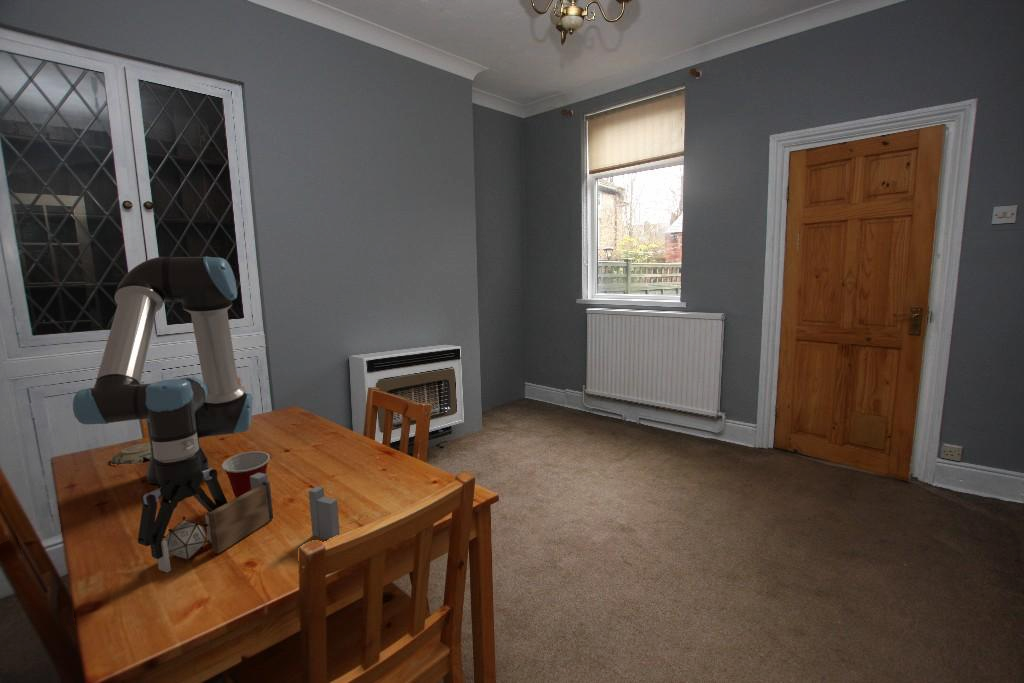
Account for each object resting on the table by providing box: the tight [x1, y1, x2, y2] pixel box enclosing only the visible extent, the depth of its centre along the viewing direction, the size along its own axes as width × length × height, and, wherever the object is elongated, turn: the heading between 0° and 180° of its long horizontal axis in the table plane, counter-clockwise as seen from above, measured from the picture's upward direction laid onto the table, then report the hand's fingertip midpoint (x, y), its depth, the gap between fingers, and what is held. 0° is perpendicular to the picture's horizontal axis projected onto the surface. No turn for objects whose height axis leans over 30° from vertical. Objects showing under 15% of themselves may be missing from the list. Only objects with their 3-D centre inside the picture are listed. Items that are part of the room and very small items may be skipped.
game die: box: [163, 515, 211, 564], centre depth 98 cm, size 9×8×10 cm
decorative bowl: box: [110, 442, 151, 465], centre depth 152 cm, size 15×4×15 cm
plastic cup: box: [221, 450, 271, 498], centre depth 121 cm, size 11×11×12 cm
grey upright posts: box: [250, 473, 341, 540], centre depth 109 cm, size 25×2×11 cm, turn 66°
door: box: [207, 480, 274, 555], centre depth 106 cm, size 15×3×9 cm, turn 162°
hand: (190, 555), depth 99 cm, fingers closed on game die, 9 cm apart
